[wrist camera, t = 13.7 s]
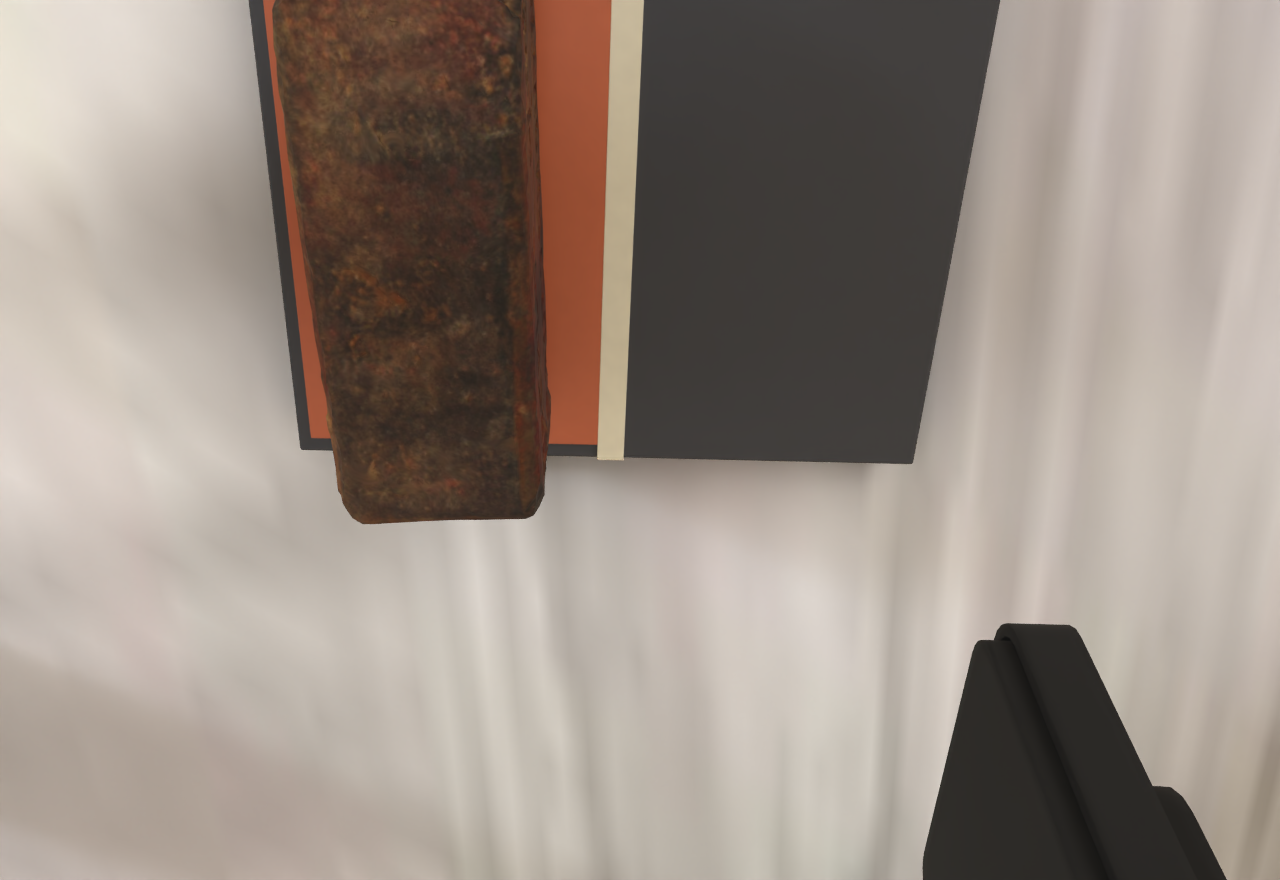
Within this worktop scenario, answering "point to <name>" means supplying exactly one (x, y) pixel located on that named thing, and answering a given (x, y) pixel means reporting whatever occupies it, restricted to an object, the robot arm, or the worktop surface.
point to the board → (725, 221)
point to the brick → (422, 248)
